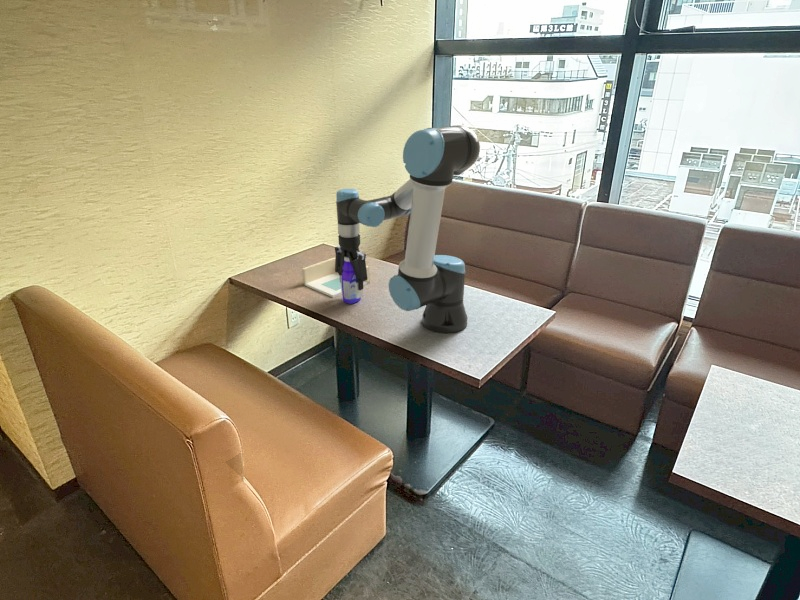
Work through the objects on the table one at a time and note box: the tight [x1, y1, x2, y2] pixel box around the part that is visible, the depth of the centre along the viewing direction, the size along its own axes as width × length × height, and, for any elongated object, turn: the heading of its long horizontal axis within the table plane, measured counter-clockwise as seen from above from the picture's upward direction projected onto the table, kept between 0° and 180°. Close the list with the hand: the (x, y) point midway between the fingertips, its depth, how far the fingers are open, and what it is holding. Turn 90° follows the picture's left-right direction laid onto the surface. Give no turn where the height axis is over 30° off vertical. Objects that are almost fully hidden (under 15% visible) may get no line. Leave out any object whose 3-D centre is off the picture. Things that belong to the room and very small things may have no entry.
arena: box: [301, 256, 370, 299], centre depth 198 cm, size 18×19×7 cm
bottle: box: [341, 256, 362, 305], centre depth 182 cm, size 7×6×17 cm
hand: (351, 294), depth 185 cm, fingers open, 7 cm apart
